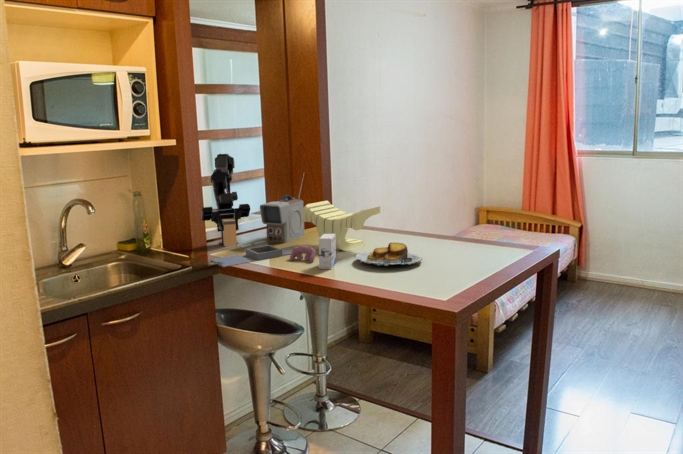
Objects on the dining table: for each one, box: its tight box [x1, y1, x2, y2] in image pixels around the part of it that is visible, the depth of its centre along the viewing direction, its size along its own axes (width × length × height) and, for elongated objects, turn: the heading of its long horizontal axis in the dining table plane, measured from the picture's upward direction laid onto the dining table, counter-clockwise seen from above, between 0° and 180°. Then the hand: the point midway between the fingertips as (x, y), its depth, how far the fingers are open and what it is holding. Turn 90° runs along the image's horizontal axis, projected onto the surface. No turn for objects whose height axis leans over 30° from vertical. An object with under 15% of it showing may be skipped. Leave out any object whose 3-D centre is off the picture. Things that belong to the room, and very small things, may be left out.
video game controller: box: [289, 245, 317, 264], centre depth 225 cm, size 10×5×7 cm, turn 71°
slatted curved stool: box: [303, 200, 381, 252], centre depth 245 cm, size 30×16×18 cm, turn 49°
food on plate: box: [355, 242, 423, 267], centre depth 219 cm, size 25×25×7 cm
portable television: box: [259, 172, 305, 244], centre depth 260 cm, size 12×24×30 cm, turn 157°
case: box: [245, 244, 296, 261], centre depth 236 cm, size 11×22×3 cm, turn 125°
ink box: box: [318, 234, 337, 270], centre depth 215 cm, size 9×5×12 cm, turn 168°
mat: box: [209, 254, 254, 269], centre depth 226 cm, size 14×12×1 cm
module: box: [222, 218, 238, 247], centre depth 224 cm, size 5×5×10 cm
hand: (229, 229), depth 222 cm, fingers closed on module, 5 cm apart
